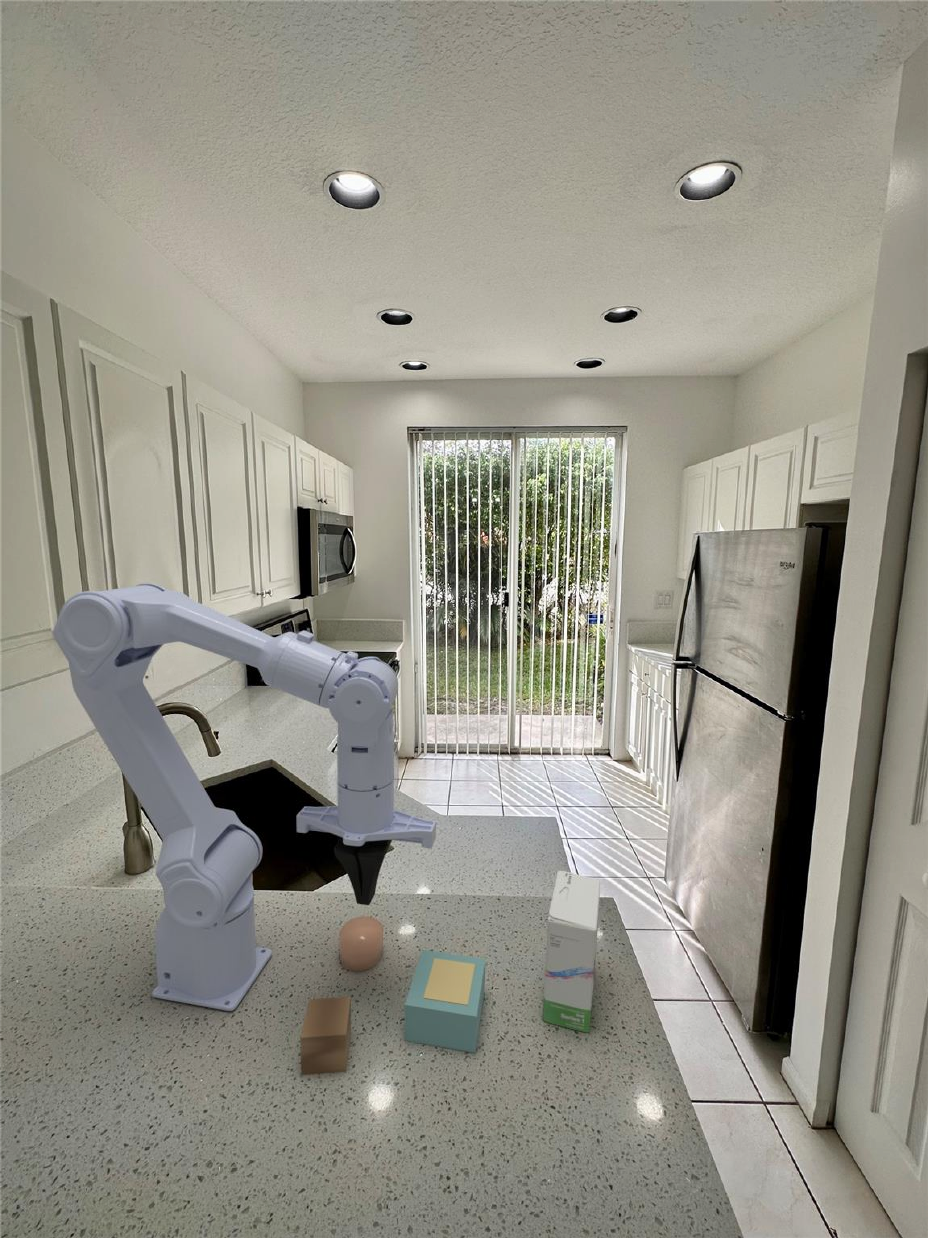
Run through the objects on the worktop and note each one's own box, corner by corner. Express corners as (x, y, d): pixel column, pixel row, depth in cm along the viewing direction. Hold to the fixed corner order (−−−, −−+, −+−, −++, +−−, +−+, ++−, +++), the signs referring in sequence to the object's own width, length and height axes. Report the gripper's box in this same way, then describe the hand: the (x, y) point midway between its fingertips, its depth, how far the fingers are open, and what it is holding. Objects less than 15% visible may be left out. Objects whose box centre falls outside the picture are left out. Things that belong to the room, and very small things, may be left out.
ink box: (590, 1036, 53) (598, 930, 51) (540, 1021, 54) (546, 918, 52) (594, 970, 61) (601, 876, 59) (551, 959, 62) (556, 867, 60)
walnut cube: (301, 1076, 48) (300, 1038, 47) (309, 1035, 52) (308, 999, 51) (346, 1072, 48) (345, 1034, 48) (350, 1032, 52) (350, 996, 52)
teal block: (404, 1003, 51) (476, 1015, 50) (422, 949, 58) (485, 958, 57) (404, 1041, 52) (475, 1054, 50) (421, 982, 58) (484, 992, 57)
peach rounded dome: (333, 969, 60) (333, 945, 59) (347, 937, 65) (347, 914, 64) (377, 973, 59) (377, 949, 59) (387, 940, 64) (387, 918, 64)
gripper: (280, 789, 51) (284, 915, 53) (425, 805, 49) (423, 935, 51) (312, 759, 58) (314, 872, 60) (441, 772, 56) (438, 888, 58)
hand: (366, 898), depth 56 cm, fingers closed
